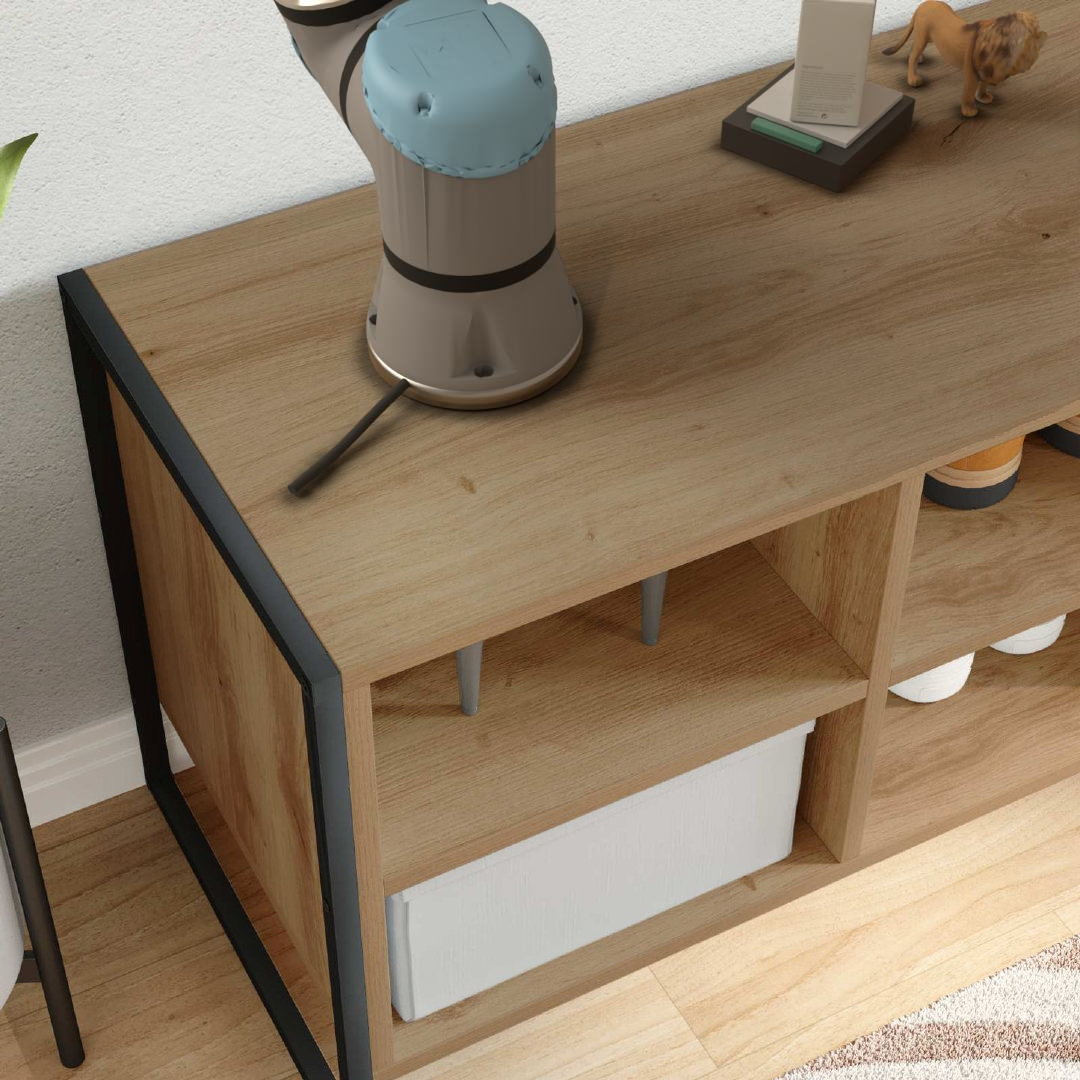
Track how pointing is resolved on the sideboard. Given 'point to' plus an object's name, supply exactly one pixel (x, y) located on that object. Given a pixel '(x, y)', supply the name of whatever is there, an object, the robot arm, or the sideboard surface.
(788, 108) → the scale
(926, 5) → the lion figurine
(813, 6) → the small box
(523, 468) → the sideboard surface
